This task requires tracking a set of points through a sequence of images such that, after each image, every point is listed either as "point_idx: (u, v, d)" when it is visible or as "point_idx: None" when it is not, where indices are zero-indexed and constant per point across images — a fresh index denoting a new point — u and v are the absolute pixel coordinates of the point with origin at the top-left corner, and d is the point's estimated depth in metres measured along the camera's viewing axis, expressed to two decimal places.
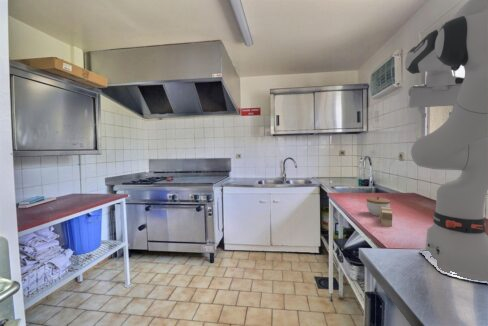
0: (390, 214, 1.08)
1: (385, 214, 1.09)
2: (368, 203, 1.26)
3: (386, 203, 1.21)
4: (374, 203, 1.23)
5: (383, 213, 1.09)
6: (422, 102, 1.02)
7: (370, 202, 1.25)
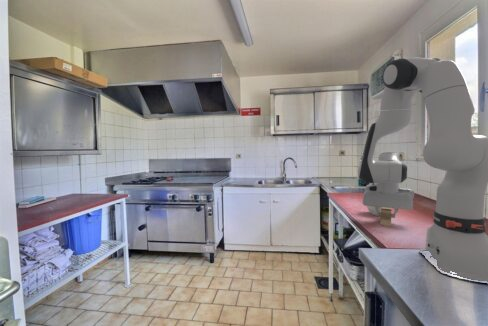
0: (389, 214, 1.08)
1: (384, 213, 1.09)
2: None
3: None
4: None
5: (382, 212, 1.09)
6: None
7: None
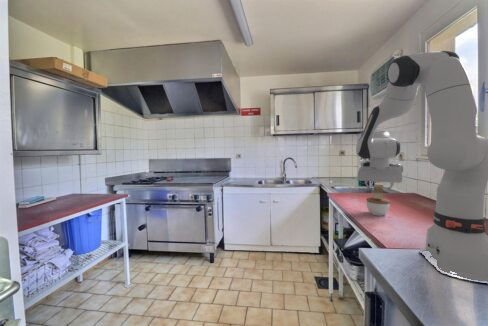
0: (381, 187, 1.20)
1: (376, 188, 1.21)
2: (368, 203, 1.26)
3: (386, 203, 1.21)
4: (374, 203, 1.23)
5: (375, 187, 1.21)
6: None
7: (370, 202, 1.25)
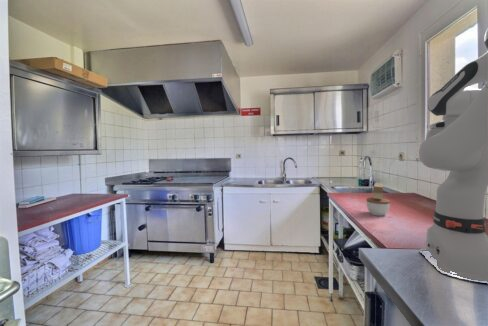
0: (381, 188, 1.20)
1: (376, 188, 1.21)
2: (368, 203, 1.26)
3: (386, 203, 1.21)
4: (374, 203, 1.23)
5: (375, 187, 1.21)
6: None
7: (370, 202, 1.25)
